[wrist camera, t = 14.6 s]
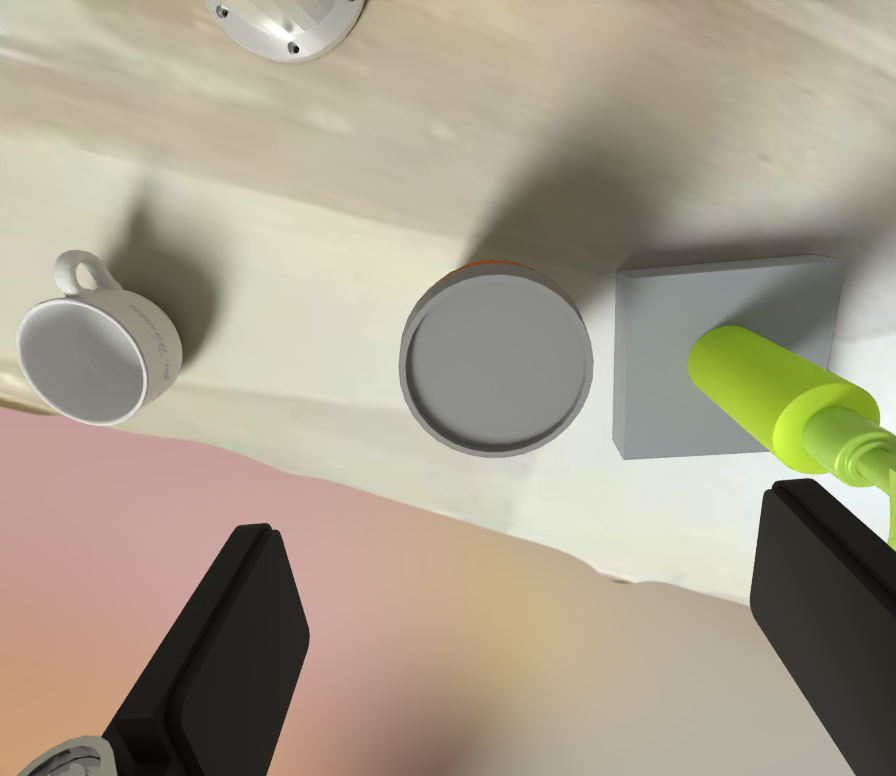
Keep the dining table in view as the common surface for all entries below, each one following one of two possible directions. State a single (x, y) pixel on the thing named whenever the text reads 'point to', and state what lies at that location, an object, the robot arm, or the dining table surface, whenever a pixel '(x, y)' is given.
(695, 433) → the stand
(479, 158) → the dining table surface
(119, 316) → the teacup
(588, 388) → the reusable coffee cup
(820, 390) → the soap dispenser
